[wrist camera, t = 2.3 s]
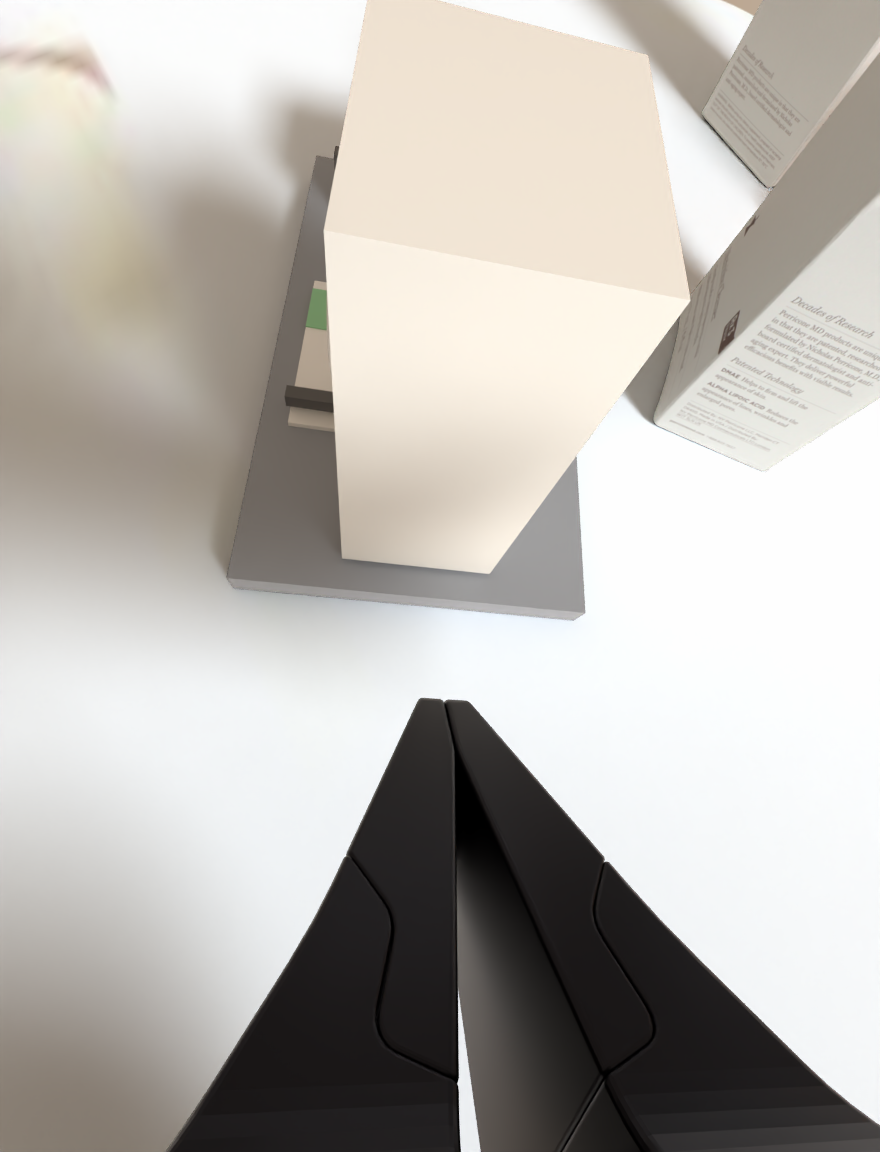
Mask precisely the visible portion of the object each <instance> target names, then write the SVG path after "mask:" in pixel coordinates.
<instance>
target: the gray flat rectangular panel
mask: <svg viewBox="0 0 880 1152" xmlns="http://www.w3.org/2000/svg"><path fill="white" fill-rule="evenodd" d="M334 173H335V172H334V159H331V158H326V157H321V156H316V161H315V165H314V170H313V175H312V180H311V184H310V189H309V194H308V198H307V203H306V208H305V212H304V217H303V222H302V226H301V231H300V236H299V240H298V245H297V250H296V255H295V259H294V264H293V269H292V273H291V278H290V283H289V287H288V292H287V297H286V301H285V306H284V311H283V315H282V320H281V325H280V330H279V334H278V339H277V344H276V348H275V353H274V358H273V362H272V367H271V372H270V376H269V381H268V386H267V391H266V395H265V400H264V405H263V409H262V414H261V419H260V423H259V428H258V433H257V437H256V442H255V447H254V451H253V456H252V461H251V466H250V470H249V475H248V480H247V484H246V489H245V494H244V498H243V503H242V508H241V512H240V517H239V522H238V526H237V531H236V536H235V541H234V545H233V550H232V555H231V559H230V564H229V569H228V573H227V580H228V581H229V583H230V584H231V585H232V587H233V588H236V589H247V590H257V591H268V592H279V593H289V594H300V595H310V596H321V597H331V598H342V599H352V600H363V601H374V602H384V603H395V604H405V605H416V606H426V607H437V608H447V609H458V610H468V611H479V612H490V613H500V614H511V615H521V616H532V617H542V618H553V619H563V620H575V619H577V618H578V617H580V616H581V615H583V614H585V600H584V582H583V564H582V547H581V529H580V511H579V493H578V475H577V458H576V457H575V459H574V460H573V461H572V463H571V464H570V465H569V467H568V468H567V469H566V471H565V472H564V473H563V475H562V476H561V478H560V479H559V480H558V482H557V483H556V484H555V486H554V487H553V488H552V490H551V491H550V493H549V494H548V495H547V497H546V498H545V499H544V501H543V502H542V503H541V505H540V506H539V507H538V509H537V510H536V512H535V513H534V514H533V516H532V517H531V518H530V520H529V521H528V522H527V524H526V525H525V527H524V528H523V529H522V531H521V532H520V533H519V535H518V536H517V537H516V539H515V540H514V541H513V543H512V544H511V546H510V547H509V548H508V550H507V551H506V552H505V554H504V555H503V556H502V558H501V559H500V561H499V562H498V563H497V565H496V566H495V567H494V569H493V570H492V571H491V573H490V574H484V573H475V572H465V571H456V570H446V569H437V568H427V567H418V566H408V565H399V564H389V563H380V562H371V561H361V560H352V559H342V550H341V532H340V514H339V496H338V478H337V460H336V442H335V424H334V413H332V412H325V411H318V410H311V409H304V408H298V407H291V406H286V402H285V397H284V396H285V391H286V386H287V385H291V386H297V387H304V388H311V389H317V390H324V391H331V392H333V388H332V375H331V372H330V367H329V360H328V348H327V280H326V262H325V244H324V226H325V221H326V215H327V210H328V205H329V200H330V194H331V189H332V184H333V179H334Z"/></svg>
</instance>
